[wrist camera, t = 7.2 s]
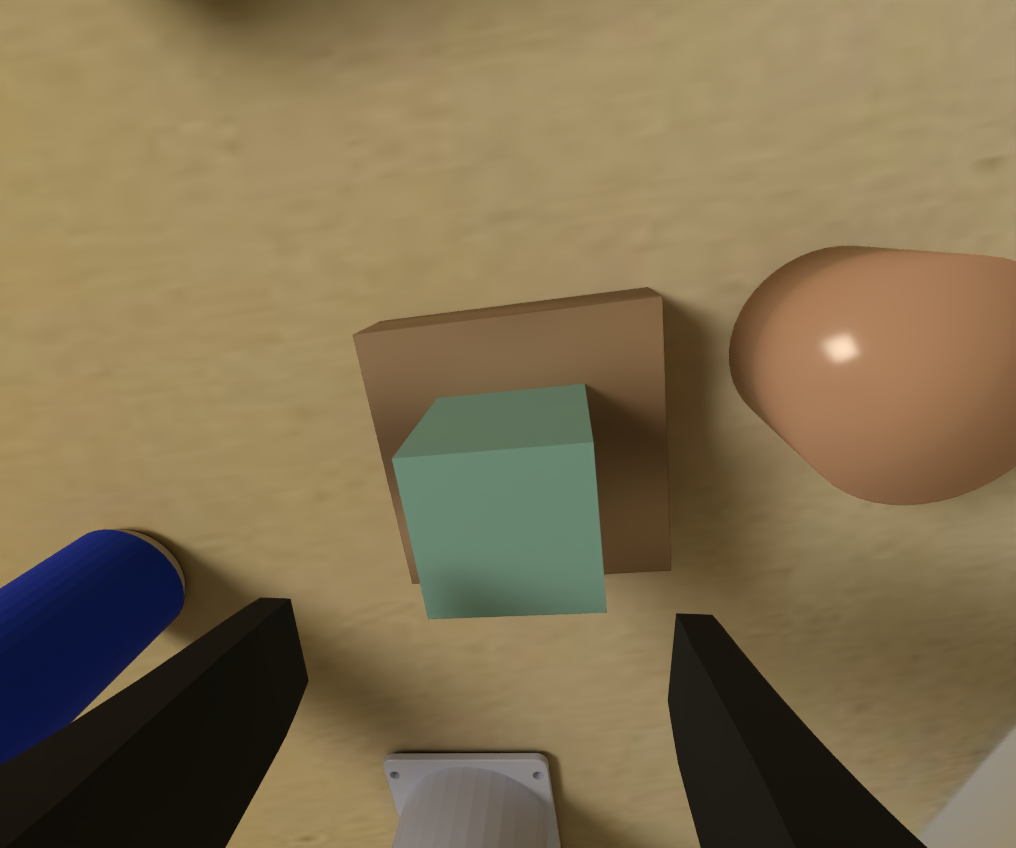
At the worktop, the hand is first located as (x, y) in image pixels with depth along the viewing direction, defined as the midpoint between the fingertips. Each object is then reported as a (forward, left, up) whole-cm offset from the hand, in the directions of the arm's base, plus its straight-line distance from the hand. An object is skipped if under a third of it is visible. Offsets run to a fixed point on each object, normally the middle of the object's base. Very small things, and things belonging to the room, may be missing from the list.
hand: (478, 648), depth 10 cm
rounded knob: (+3, -10, -10) cm, 14 cm away
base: (+1, 0, -10) cm, 10 cm away
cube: (+1, 0, -7) cm, 7 cm away
